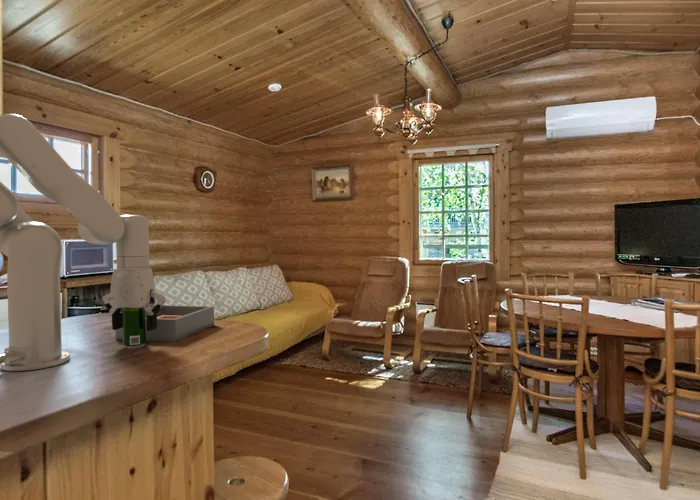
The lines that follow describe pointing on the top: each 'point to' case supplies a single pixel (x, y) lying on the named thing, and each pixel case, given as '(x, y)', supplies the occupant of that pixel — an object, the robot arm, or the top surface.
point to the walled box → (177, 323)
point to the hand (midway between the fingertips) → (134, 329)
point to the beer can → (133, 327)
